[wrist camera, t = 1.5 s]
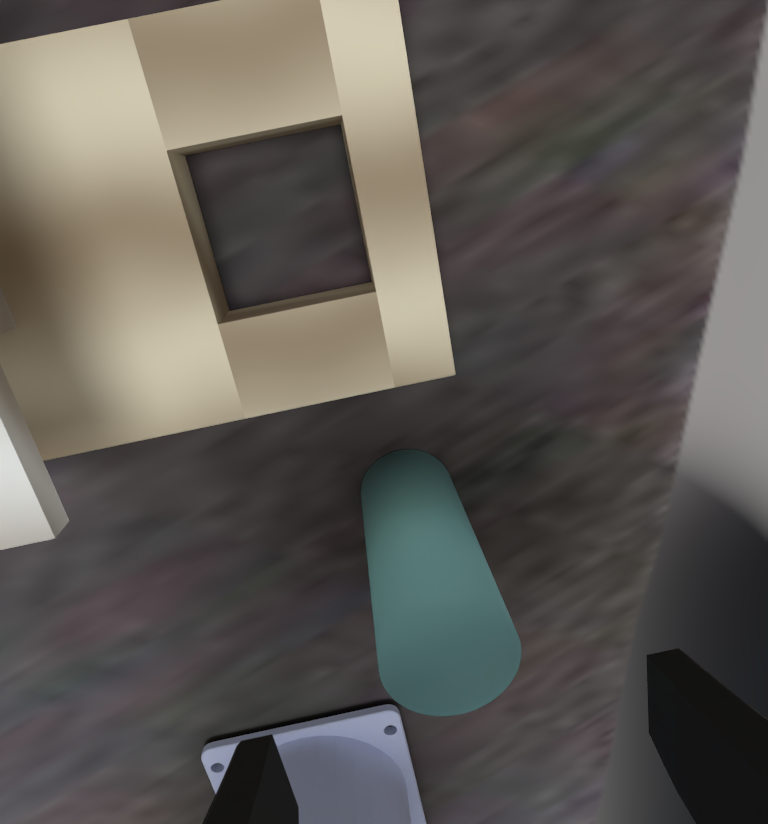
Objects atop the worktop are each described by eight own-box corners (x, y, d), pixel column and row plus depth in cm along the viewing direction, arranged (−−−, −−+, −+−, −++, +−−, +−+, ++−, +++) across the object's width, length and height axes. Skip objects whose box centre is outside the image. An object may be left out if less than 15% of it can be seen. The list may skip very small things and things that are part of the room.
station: (443, 357, 19) (504, 443, 12) (13, 446, 19) (-162, 583, 12) (385, -6, 15) (426, -159, 9) (-145, 99, 15) (-513, 24, 9)
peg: (457, 520, 21) (527, 699, 14) (370, 539, 21) (392, 729, 14) (444, 440, 20) (513, 587, 12) (352, 459, 20) (365, 619, 12)
